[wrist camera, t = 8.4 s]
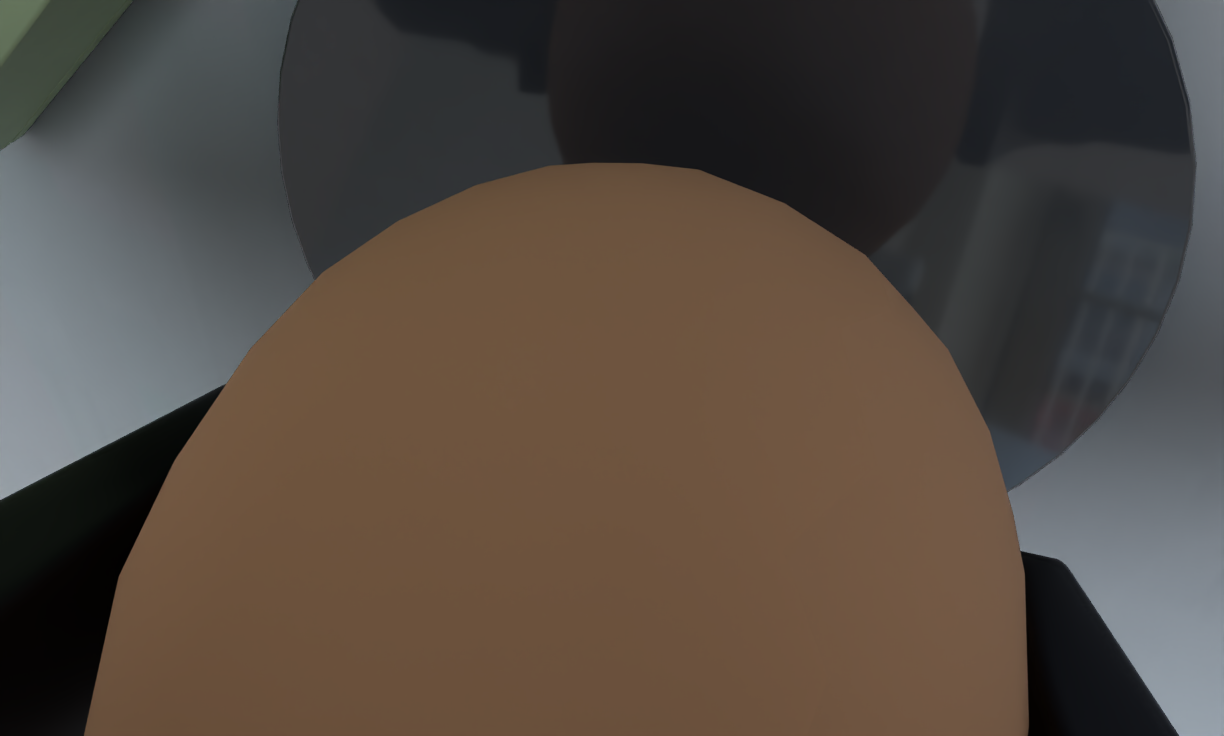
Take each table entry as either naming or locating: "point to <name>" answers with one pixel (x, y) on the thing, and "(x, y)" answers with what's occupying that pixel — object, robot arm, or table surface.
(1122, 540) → the table surface
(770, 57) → the coaster
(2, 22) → the tray
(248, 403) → the egg
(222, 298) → the table surface
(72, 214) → the table surface
